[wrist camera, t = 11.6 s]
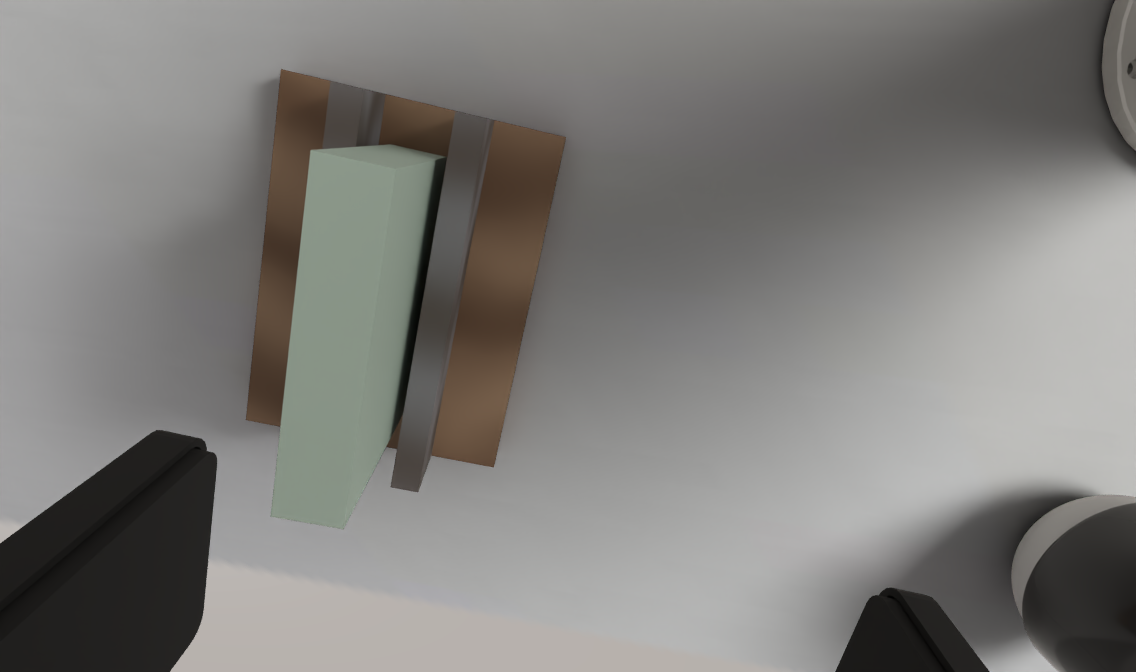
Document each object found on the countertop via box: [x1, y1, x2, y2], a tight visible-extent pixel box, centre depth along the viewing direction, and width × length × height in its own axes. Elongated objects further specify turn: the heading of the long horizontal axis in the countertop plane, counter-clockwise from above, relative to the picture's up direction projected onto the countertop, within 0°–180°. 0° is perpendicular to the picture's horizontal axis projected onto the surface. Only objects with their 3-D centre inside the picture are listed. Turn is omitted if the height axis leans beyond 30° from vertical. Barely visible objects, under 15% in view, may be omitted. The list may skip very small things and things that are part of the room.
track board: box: [246, 69, 566, 492], centre depth 29 cm, size 16×12×5 cm
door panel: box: [271, 144, 447, 529], centre depth 25 cm, size 12×2×10 cm, turn 167°
